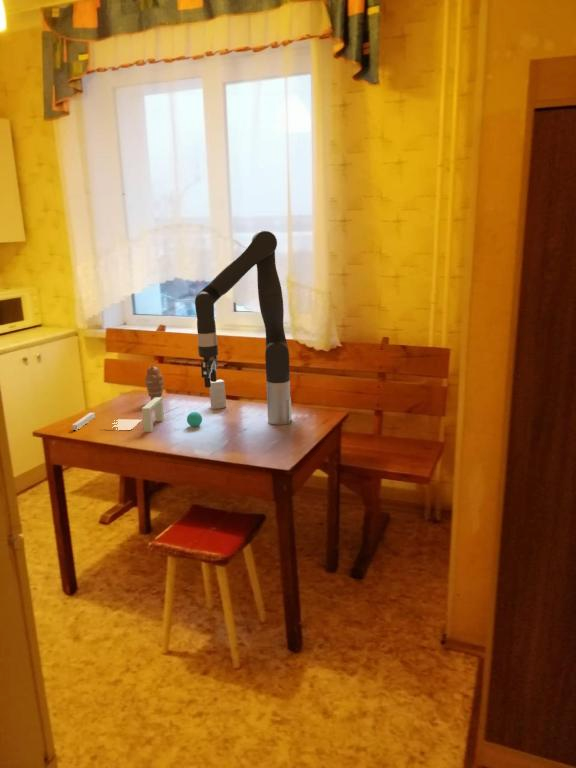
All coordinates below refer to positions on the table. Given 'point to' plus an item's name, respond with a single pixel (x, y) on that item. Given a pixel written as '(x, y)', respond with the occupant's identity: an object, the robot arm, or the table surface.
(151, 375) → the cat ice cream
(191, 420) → the ball
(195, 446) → the table surface
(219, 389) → the skincare box
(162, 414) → the bridge
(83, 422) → the stopper
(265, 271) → the robot arm
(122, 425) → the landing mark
